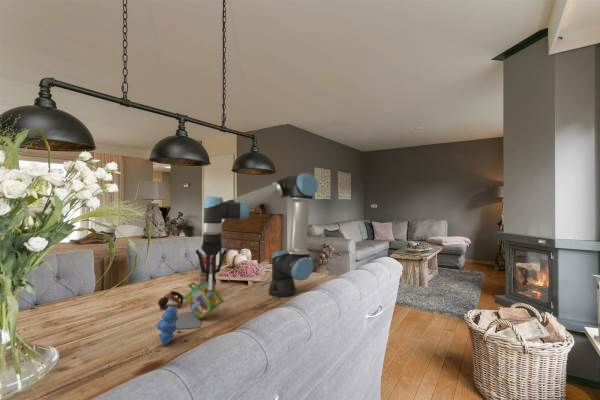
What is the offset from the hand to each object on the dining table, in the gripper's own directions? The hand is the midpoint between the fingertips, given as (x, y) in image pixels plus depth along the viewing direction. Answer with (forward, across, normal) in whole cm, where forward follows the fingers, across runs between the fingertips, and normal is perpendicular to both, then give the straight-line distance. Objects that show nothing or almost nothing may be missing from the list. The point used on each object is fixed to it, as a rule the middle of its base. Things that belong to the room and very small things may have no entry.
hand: (210, 289), depth 122 cm
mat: (+13, +10, 0) cm, 16 cm away
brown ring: (+13, +19, -18) cm, 29 cm away
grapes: (+13, +13, +18) cm, 26 cm away
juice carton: (+13, +4, -33) cm, 36 cm away
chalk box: (+9, -1, 0) cm, 9 cm away
